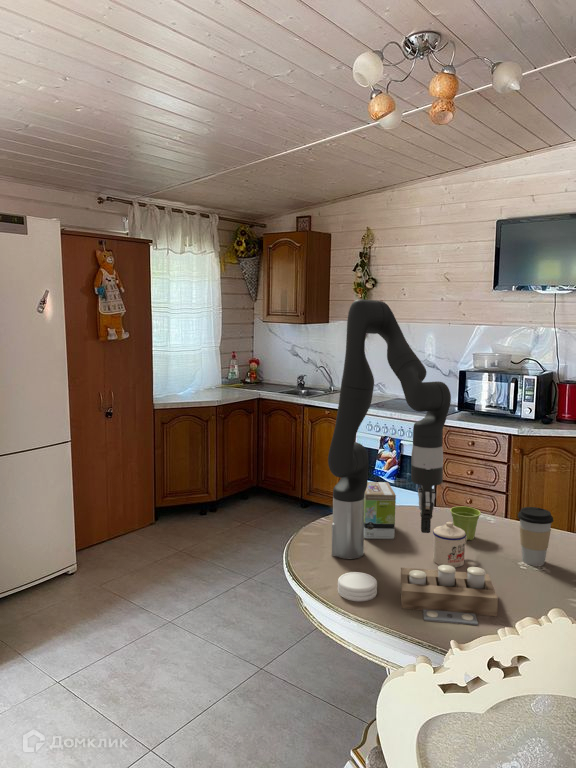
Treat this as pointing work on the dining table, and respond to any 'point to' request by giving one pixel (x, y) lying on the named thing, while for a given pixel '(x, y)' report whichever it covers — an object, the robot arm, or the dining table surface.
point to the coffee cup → (534, 534)
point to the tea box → (379, 511)
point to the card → (450, 617)
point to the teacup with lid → (449, 545)
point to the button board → (448, 594)
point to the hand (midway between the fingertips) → (425, 531)
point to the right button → (475, 578)
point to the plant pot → (466, 519)
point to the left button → (417, 577)
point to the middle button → (446, 575)
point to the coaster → (357, 586)
